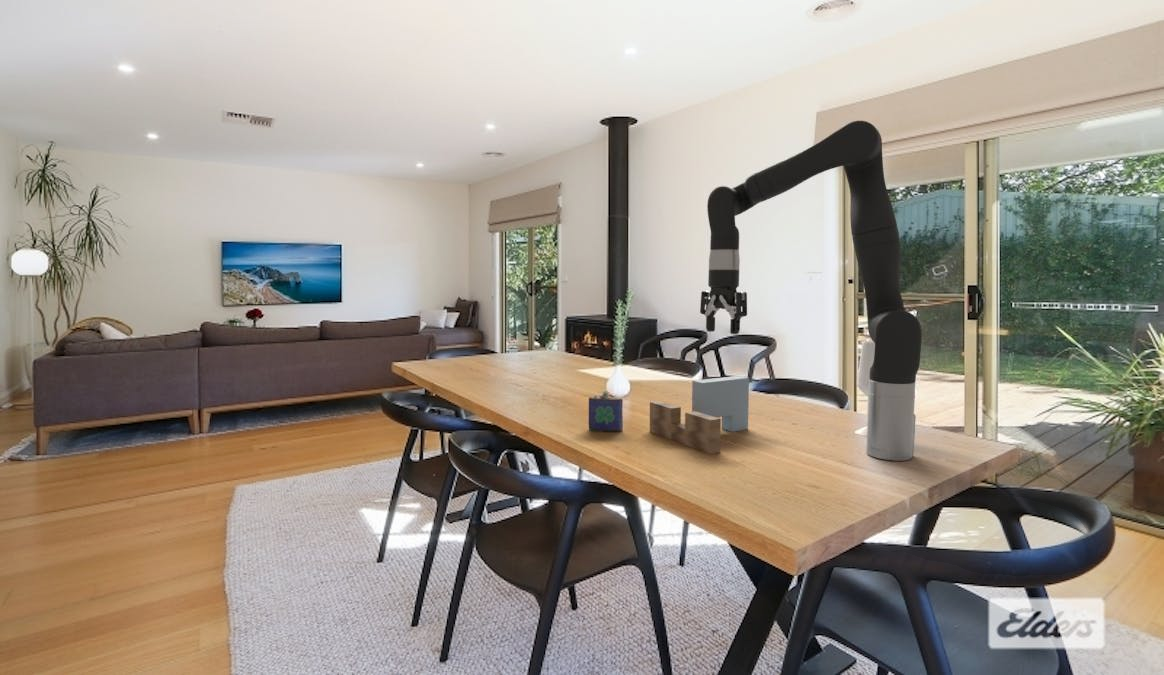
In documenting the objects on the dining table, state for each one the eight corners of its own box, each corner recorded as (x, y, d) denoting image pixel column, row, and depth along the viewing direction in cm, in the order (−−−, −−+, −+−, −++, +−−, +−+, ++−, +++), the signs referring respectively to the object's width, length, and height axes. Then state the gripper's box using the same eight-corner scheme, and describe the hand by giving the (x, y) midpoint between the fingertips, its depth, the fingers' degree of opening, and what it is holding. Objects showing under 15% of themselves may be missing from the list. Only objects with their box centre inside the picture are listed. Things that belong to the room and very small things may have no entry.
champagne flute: (872, 429, 159) (876, 340, 157) (889, 436, 153) (893, 343, 150) (849, 430, 158) (852, 340, 156) (864, 437, 152) (868, 343, 150)
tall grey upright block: (691, 433, 156) (692, 380, 155) (737, 426, 164) (738, 375, 163) (701, 436, 153) (702, 382, 152) (748, 429, 161) (749, 377, 159)
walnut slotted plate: (649, 431, 158) (649, 402, 158) (658, 430, 160) (659, 400, 159) (710, 454, 137) (710, 420, 137) (720, 452, 139) (720, 418, 138)
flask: (623, 429, 161) (623, 390, 159) (622, 432, 158) (621, 392, 157) (589, 428, 162) (589, 389, 161) (587, 431, 159) (587, 391, 158)
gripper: (756, 268, 146) (753, 334, 147) (715, 269, 158) (713, 330, 159) (733, 267, 142) (731, 335, 143) (693, 268, 154) (692, 331, 156)
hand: (722, 332), depth 151 cm, fingers open, 8 cm apart
